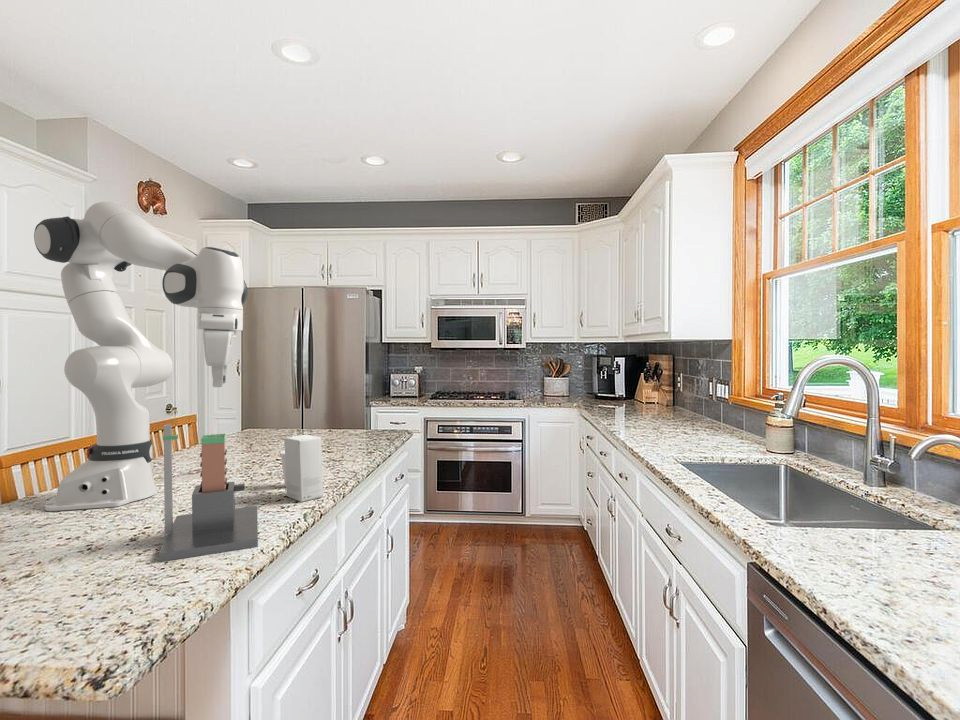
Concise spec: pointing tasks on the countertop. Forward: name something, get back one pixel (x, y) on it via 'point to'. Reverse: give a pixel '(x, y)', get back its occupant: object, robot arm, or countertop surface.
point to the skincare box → (303, 467)
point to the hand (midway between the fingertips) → (219, 385)
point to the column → (213, 463)
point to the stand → (205, 518)
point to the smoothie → (283, 464)
